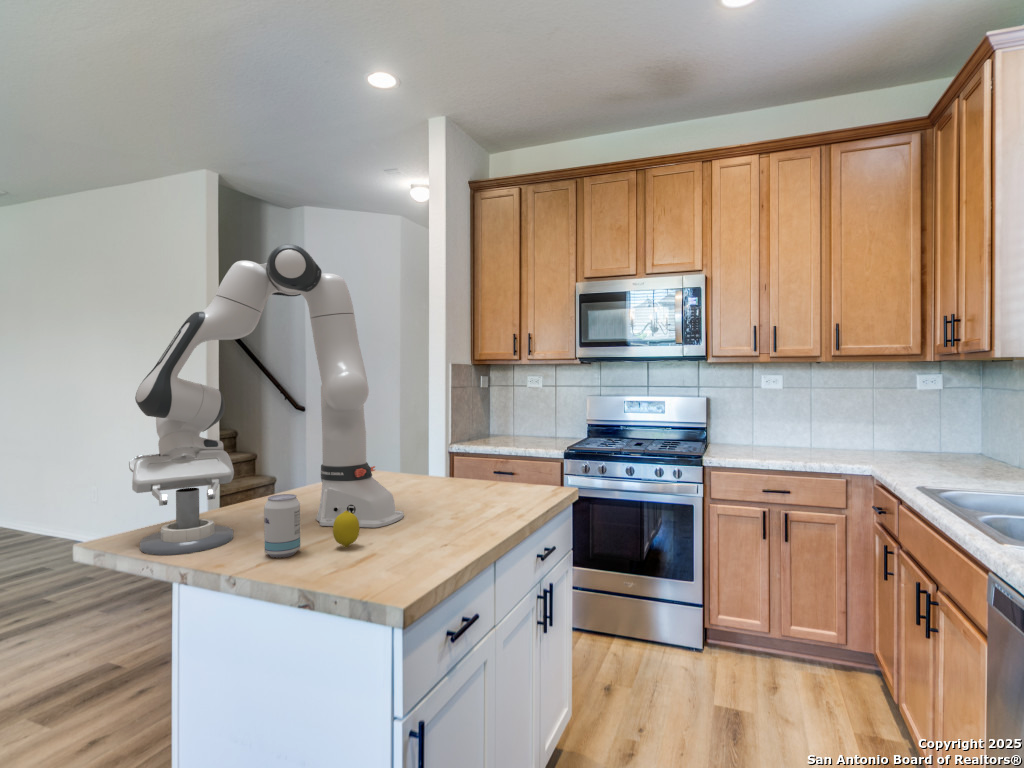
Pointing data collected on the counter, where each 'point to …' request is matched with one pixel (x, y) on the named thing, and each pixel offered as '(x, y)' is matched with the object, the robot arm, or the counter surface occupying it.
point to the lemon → (346, 528)
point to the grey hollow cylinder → (187, 508)
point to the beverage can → (282, 525)
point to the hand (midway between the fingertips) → (188, 500)
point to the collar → (186, 539)
